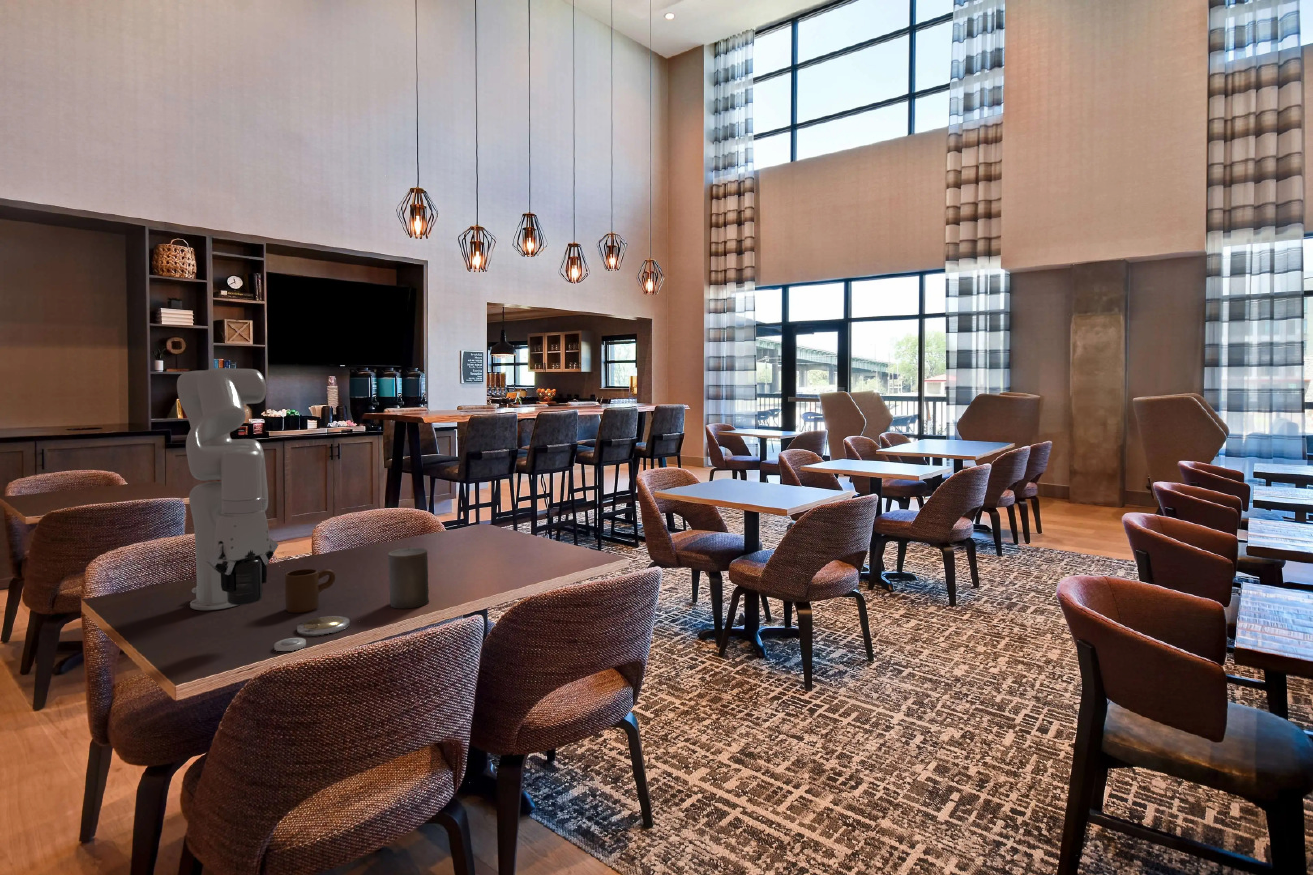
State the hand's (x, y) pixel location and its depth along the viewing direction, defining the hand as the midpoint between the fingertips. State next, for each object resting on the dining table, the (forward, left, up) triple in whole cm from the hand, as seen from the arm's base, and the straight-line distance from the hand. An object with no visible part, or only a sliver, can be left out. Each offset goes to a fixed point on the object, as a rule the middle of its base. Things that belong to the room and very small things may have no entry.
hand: (244, 586), depth 156 cm
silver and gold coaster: (+8, +14, -12) cm, 20 cm away
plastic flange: (+12, +2, -12) cm, 17 cm away
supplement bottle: (0, 0, -4) cm, 4 cm away
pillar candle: (+12, +37, -13) cm, 40 cm away
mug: (-8, +24, -13) cm, 28 cm away
